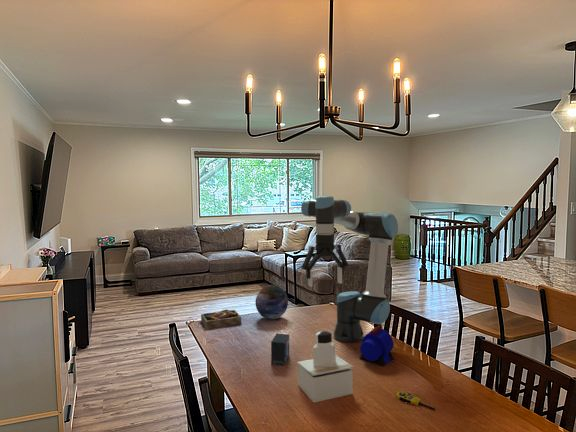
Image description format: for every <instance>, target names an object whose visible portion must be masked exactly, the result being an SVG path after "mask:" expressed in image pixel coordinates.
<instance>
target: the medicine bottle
mask: <svg viewBox="0 0 576 432" xmlns="http://www.w3.org/2000/svg"><path fill="white" fill-rule="evenodd" d="M332 340H333V338H332V333H331V332H330V331H326V330H321V331H318V332H316V333H315V344H314V346H313V347H312V359H313V366H316V367H329V368H332V366H333V365H334V363H335V362H336V356H337V354H336V343H335V342H333V341H332Z"/></svg>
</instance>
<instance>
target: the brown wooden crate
mask: <svg viewBox="0 0 576 432" xmlns="http://www.w3.org/2000/svg"><path fill="white" fill-rule="evenodd" d="M214 312H215V313H214V314H210V315H206V316H205V317H207V321H209V320H219V319H225V318H232V317H237V313H238V312H237V313H235V312H232V311H230V309H223V310H221V312H220V311H214Z"/></svg>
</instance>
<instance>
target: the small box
mask: <svg viewBox="0 0 576 432" xmlns="http://www.w3.org/2000/svg"><path fill="white" fill-rule="evenodd" d="M270 355H271V356H270V357H271V358H270V365H276V366H285V365H286V363H287V361H288V360H289V358H290V334H286V333H276V334H275V335H274V336H273V338H272V340H271V341H270Z"/></svg>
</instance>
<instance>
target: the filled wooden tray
mask: <svg viewBox="0 0 576 432" xmlns="http://www.w3.org/2000/svg"><path fill="white" fill-rule="evenodd" d="M229 310H230V309H229ZM221 311H222V310H221ZM221 311H219V312H221ZM230 311H232V312H235V313H237V317H232V318H225V319H219V320H209V321H207V317H205V316H206V315H210V314H214V313H215V312H216V311H214V312H213V311H212V312H206V313H200V322H202V324H203V327H205V329H214V328H220V327H221V326H222V327H226V326H227V327H228V325H229V326H235V325H241V324H242V316H241V315H240V314H239V312H237V311H236V310H235V309H231V310H230Z"/></svg>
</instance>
